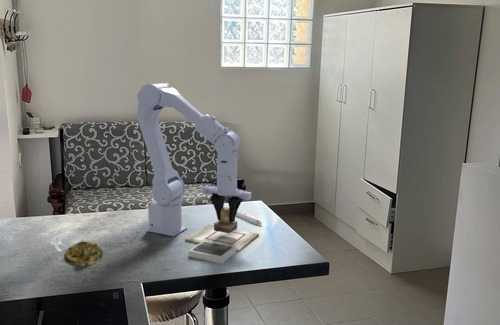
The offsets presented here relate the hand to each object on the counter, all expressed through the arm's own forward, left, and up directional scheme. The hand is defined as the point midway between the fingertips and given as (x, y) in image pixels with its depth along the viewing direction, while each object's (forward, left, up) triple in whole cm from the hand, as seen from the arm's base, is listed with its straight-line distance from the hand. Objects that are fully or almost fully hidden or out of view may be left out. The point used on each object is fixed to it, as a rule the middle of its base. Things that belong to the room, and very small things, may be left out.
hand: (226, 220), depth 141 cm
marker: (-3, +19, -6) cm, 21 cm away
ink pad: (+2, -12, -6) cm, 13 cm away
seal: (-28, -28, -6) cm, 40 cm away
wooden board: (-1, 0, -6) cm, 6 cm away
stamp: (0, 0, -3) cm, 3 cm away
